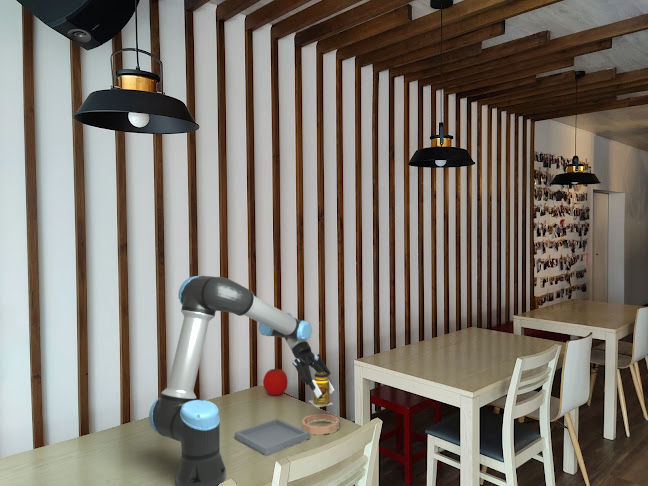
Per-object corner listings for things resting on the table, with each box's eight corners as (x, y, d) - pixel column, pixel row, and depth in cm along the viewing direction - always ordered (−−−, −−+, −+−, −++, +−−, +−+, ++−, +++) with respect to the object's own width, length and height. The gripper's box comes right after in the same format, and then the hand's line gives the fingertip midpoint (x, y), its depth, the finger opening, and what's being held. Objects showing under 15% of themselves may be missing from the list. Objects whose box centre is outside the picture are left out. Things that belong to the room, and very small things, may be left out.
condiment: (317, 407, 185) (317, 376, 185) (307, 401, 193) (307, 371, 193) (333, 404, 189) (333, 374, 189) (323, 398, 196) (323, 369, 196)
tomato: (279, 389, 241) (278, 364, 241) (292, 394, 232) (292, 368, 232) (258, 394, 233) (257, 368, 233) (271, 400, 224) (270, 373, 224)
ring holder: (319, 438, 180) (318, 430, 180) (294, 427, 191) (294, 420, 191) (346, 427, 190) (346, 420, 190) (321, 418, 201) (321, 411, 201)
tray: (265, 456, 167) (265, 448, 167) (234, 439, 181) (234, 432, 181) (309, 439, 180) (309, 432, 180) (277, 424, 195) (277, 418, 195)
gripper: (312, 347, 208) (338, 394, 196) (277, 355, 196) (303, 405, 184) (320, 337, 204) (348, 383, 192) (285, 344, 192) (312, 394, 180)
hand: (326, 394), depth 188 cm, fingers closed on condiment, 6 cm apart
